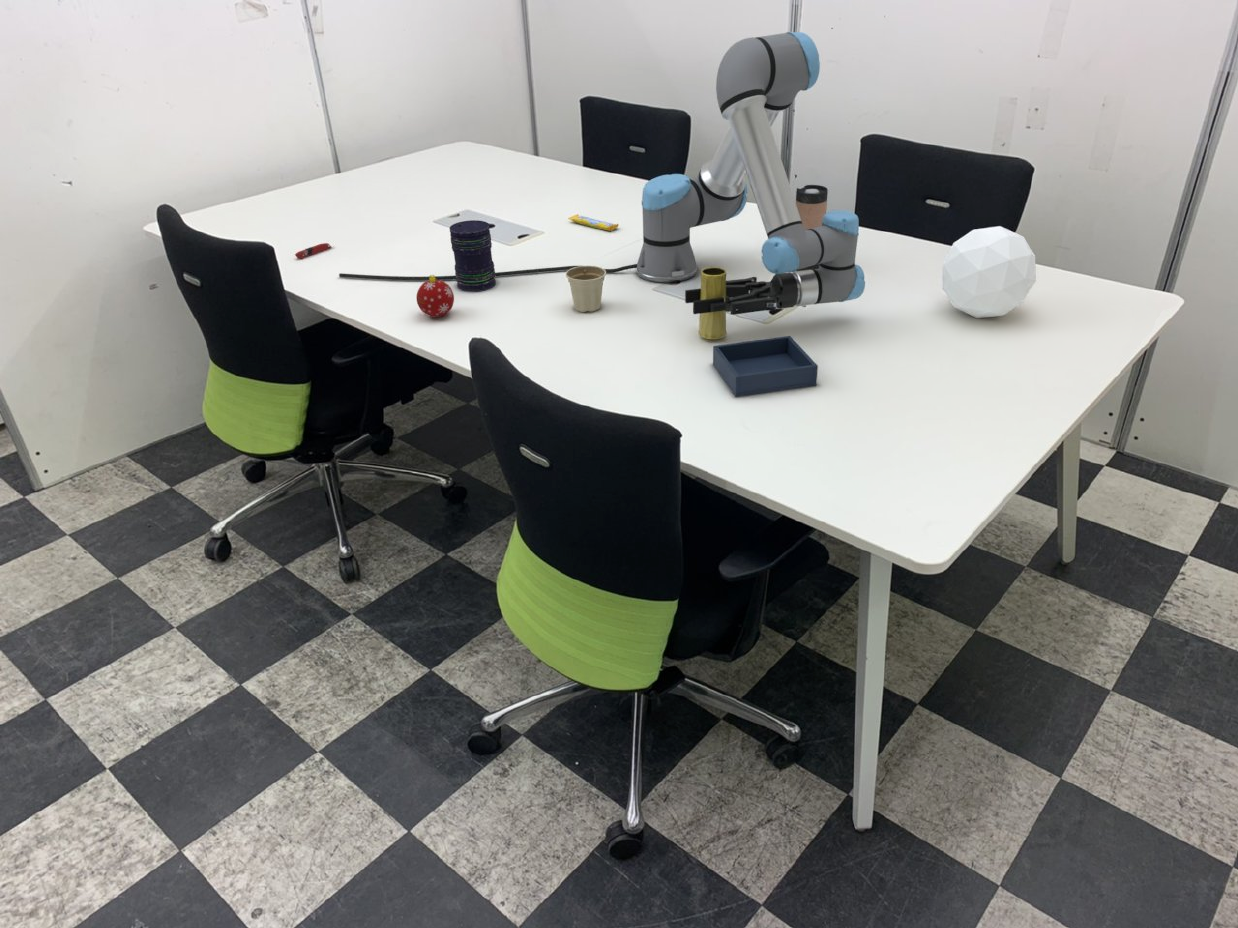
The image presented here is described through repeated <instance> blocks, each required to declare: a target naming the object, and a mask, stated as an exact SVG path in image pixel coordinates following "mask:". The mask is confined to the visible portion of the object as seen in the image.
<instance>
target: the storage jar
mask: <svg viewBox="0 0 1238 928" xmlns="http://www.w3.org/2000/svg"><path fill="white" fill-rule="evenodd" d="M449 233H450V245H451V250H452V252H453V256H454V276H456V278H457V279H456V282H457V283H456V286H457V289H458V290H459V291H463V292H468V293H478V292H479V293H480V292H483V291H488V290H490V289H492V288H494V287H495V286H496V284H497V282H496V276H495V273H496V269H495V262H494V261H493V254H492V245H493V243H492V235H491V230H490V224H489V222H487V221H484V220H479V219H477V220H475V219H473V220H471V219H469V220H463V221H459V222H455V223H453V224H452V225H450V226H449Z"/></svg>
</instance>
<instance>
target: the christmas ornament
mask: <svg viewBox="0 0 1238 928" xmlns="http://www.w3.org/2000/svg"><path fill="white" fill-rule="evenodd" d="M431 276H434V277H431ZM429 277H430V278H429V280H425V281H424V282H423V283H422V284H421V285H420V286H419V287H418V290H417V292H416V303H417V306H418V308H419V309H420V311H421V312H422V313H423V314H425V315H427V316H429V317H432V318H439V317H440V318H441V317H443V316H445V315H447V314H448V313H450V311H451V310H452V308H453V307H454V303H455V294H454V291H453V289H452V288H451V286H450V285H449V284H448V283H446V282H445V281H444V280H436V279H435V275H434V274H430V275H429Z"/></svg>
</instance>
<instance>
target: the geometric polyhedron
mask: <svg viewBox="0 0 1238 928" xmlns="http://www.w3.org/2000/svg"><path fill="white" fill-rule="evenodd" d="M1036 269H1037V267H1036V255H1035V254H1034V252H1033V250H1032V249H1031V246H1030V245H1029V243H1028V241H1027V240H1026V238H1025V237H1024V236H1023V235H1021V234H1019V233H1017V232H1014V231H1011V230H1010V229H1008V228H1005V227H1003V226H1001V225H998V226H989V227H984V228H977V229H975V228H974V229H971V230H970V231H969V232H967V233H966V234H965V235H963V236H961V237H960V238H959V239H957V240H956V241H954V242H953V243H952V244H951V247H950V249H949V251H948V253H947V255H946V257H945V259H944V261H943V263H942V265H941V284H942V285H941V289H942V291H943V292H944V294H945V295H946V297H947V299H948V300H949V301H950V303H951V304H952V306H953V307H954V308H955V309H957V310H959V311H962V312H963V313H965V314H967V315H970V316H971V317H973V318H975V319H981V318H982V319H983V318H995V317H1004V316H1005V315H1006V314H1008V313H1009V312H1011V311H1012V310H1014V309H1015V308H1017V307H1018V306H1019V305H1021V304H1022V303H1024V302H1025V300H1026V298H1027V297H1028V295H1029V293H1030V291H1031V289H1032V288H1033V286H1034V285H1035V283H1036V281H1037V270H1036Z"/></svg>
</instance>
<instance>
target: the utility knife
mask: <svg viewBox="0 0 1238 928" xmlns="http://www.w3.org/2000/svg"><path fill="white" fill-rule="evenodd" d="M331 248H332V246H331V244H330V243H327V242H323V243H319V244H316V245H314V246H310V247H307V248H304V249H302V250H299V251H297V252H295V254H294V256H295V257H296V258H297V259H299V260H302V259H305V258H308V257H311V256H313V255H316V254H319V253H322V252H324V251H328V250H330V249H331Z"/></svg>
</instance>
